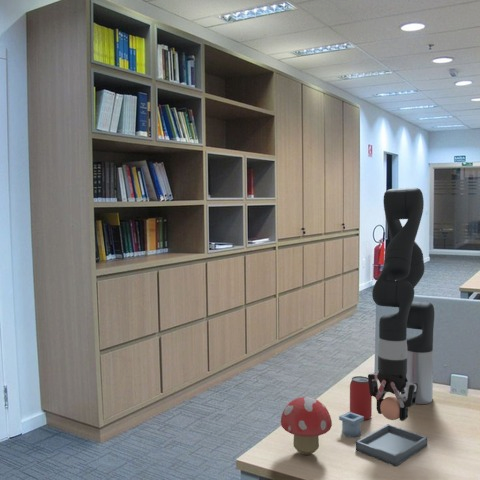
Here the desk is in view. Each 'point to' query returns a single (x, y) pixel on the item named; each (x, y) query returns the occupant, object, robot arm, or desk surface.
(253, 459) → the desk surface
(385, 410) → the ball
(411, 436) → the tray
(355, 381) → the beer can
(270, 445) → the desk surface
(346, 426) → the square to round adapter
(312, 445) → the decorative mushroom
